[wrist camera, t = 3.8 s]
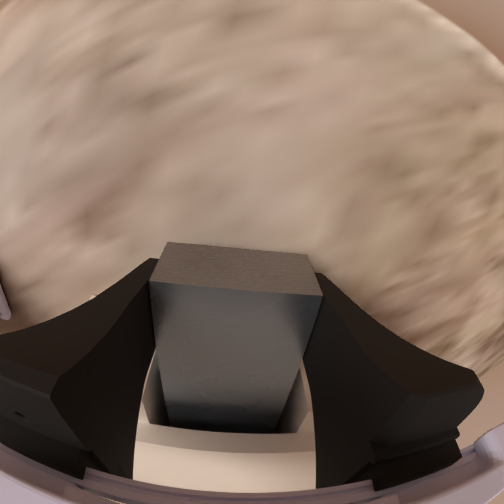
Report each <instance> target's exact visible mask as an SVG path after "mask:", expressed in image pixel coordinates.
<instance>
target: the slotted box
mask: <svg viewBox="0 0 504 504" xmlns="http://www.w3.org/2000/svg"><path fill="white" fill-rule="evenodd" d="M94 297H96V296H95V295H92V296H91V298H90V299H89V300H91V299H93V298H94ZM133 480H136V481H141V482H146V483H151V484H157V485H162V486H169V487H175V488H183V489H191V490H201V491H214V492H233V493H269V492H288V491H301V490H311V489H316V452H315V433H314V420H313V410H312V401H311V394H310V388H309V384H308V380H307V375H306V371H305V367H304V363H303V359H302V361H301V364H300V367H299V369H298V372H297V375H296V377H295V380H294V383H293V385H292V388H291V391H290V393H289V396H288V398H287V401H286V403H285V406H284V408H283V411H282V413H281V416H280V418H279V421H278V423H277V425H276V428H275V430H274V432H273V434H244V433H224V432H210V431H199V430H190V429H181V428H174V427H170V422H169V418H168V413H167V408H166V403H165V398H164V392H163V387H162V381H161V375H160V369H159V363H158V356H157V349H155V352H154V355H153V358H152V361H151V364H150V367H149V370H148V373H147V376H146V380H145V383H144V388H143V394H142V399H141V404H140V411H139V417H138V424H137V432H136V441H135V451H134V466H133Z"/></svg>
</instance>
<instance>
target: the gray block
mask: <svg viewBox="0 0 504 504" xmlns="http://www.w3.org/2000/svg"><path fill="white" fill-rule="evenodd" d="M149 287H150V298H151V308H152V318H153V326H154V334H155V342H156V349H157V356H158V363H159V369H160V375H161V381H162V387H163V392H164V398H165V403H166V408H167V413H168V418H169V422H170V427H174V428H181V429H190V430H199V431H210V432H224V433H244V434H273V432H274V430H275V428H276V425H277V423H278V421H279V418H280V416H281V413H282V411H283V408H284V406H285V403H286V401H287V398H288V396H289V393H290V391H291V388H292V385H293V383H294V380H295V377H296V375H297V372H298V369H299V367H300V364H301V361H302V358H303V355H304V353H305V350H306V347H307V344H308V341H309V338H310V335H311V332H312V329H313V326H314V323H315V320H316V317H317V314H318V311H319V307H320V304H321V301H322V298H323V294H322V291H321V289H320V286H319V284H318V281H317V279H316V276H315V273H314V271H313V268H312V266H311V263H310V261H309V259H308V256H307V255H304V254H293V253H282V252H272V251H261V250H250V249H239V248H228V247H217V246H207V245H196V244H185V243H174V242H167V244H166V246H165V248H164V250H163V252H162V254H161V257H160V259H159V261H158V263H157V265H156V267H155V269H154V271H153V273H152V275H151V278H150V280H149Z"/></svg>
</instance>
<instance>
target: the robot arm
mask: <svg viewBox="0 0 504 504" xmlns="http://www.w3.org/2000/svg"><path fill="white" fill-rule="evenodd" d="M158 261H159V259H155V258H149V259H148V260H146V261H145V262H143V263H142V264H141V265H139V266H138V267H137V268H135V269H134V270H133V271H132V272H130V273H129V274H127V275H126V276H125V277H123V278H122V279H121V280H119V281H118V282H117V283H115V284H114V285H112V286H111V287H109V288H108V289H106V290H105V291H103V292H102V293H100V294H99V295H97V296H96V297H94V298H93V299H91V300H89V301H87V302H86V303H84V304H82V305H80V306H78V307H76V308H75V309H73V310H71V311H68V312H66V313H64V314H62V315H59V316H57V317H55V318H53V319H51V320H48V321H46V322H43V323H40V324H37V325H35V326H32V327H28V328H25V329H22V330H19V331H15V332H11V333H6V334H2V335H0V504H119V503H116V502H113V501H110V500H108V499H111V500H114V501H118V502H122V503H126V504H486V503H488V502H489V501H490V500H492V499H493V498H494V497H496V496H497V495H498V494H499V493H501V492H502V491H503V490H504V422H503V423H502V424H500V425H498V426H496V427H494V428H492V429H490V430H489V431H487V432H486V433H484V434H483V435H482V436H481V437H479V438H478V439H477V440H476V441H475V442H474V444H472V445H470V446H468V447H466V448H463V449H461V450H459V447H458V445H457V442H456V440H455V439H456V438H458V437H459V435H460V433H459V431H458V429H457V426H458V425H459V424H460V423H461V422H462V421H463V420H464V419H465V418H466V417H467V416H468V415H469V414H470V413H471V412H472V411H473V410H474V409H475V408H476V406H477V405H478V404H479V402H480V401H481V399H482V397H483V394H484V388H483V386H482V384H481V383H480V381H479V379H478V377H477V376H476V374H475V373H474V371H473V370H471V369H468V368H465V367H462V366H459V365H456V364H454V363H451V362H448V361H445V360H443V359H441V358H439V357H436V356H434V355H432V354H430V353H428V352H426V351H424V350H422V349H420V348H418V347H416V346H414V345H412V344H411V343H409V342H407V341H405V340H404V339H402V338H400V337H399V336H397V335H396V334H394V333H393V332H391V331H390V330H388V329H387V328H385V327H384V326H383V325H381V324H380V323H378V322H377V321H376V320H375V319H373V318H372V317H371V316H370V315H368V314H367V313H366V312H365V311H363V310H362V309H361V308H360V307H359V306H358V305H356V304H355V303H354V302H353V301H352V300H351V299H350V298H349V297H348V296H346V295H345V294H344V293H343V292H342V291H341V290H340V289H339V288H338V287H337V286H336V285H335V284H333V283H332V282H331V281H330V280H329V279H328V278H327V277H326V276H324V275H323V274H322V273H315V276H316V279H317V281H318V284H319V286H320V289H321V291H322V294H323V298H322V301H321V304H320V307H319V311H318V314H317V317H316V320H315V323H314V326H313V329H312V332H311V335H310V338H309V341H308V344H307V347H306V350H305V353H304V355H303V358H302V359H303V363H304V367H305V371H306V375H307V380H308V384H309V388H310V394H311V401H312V410H313V420H314V433H315V452H316V489H311V490H301V491H288V492H269V493H233V492H214V491H201V490H191V489H183V488H175V487H169V486H162V485H157V484H151V483H146V482H141V481H136V480H133V466H134V451H135V441H136V432H137V424H138V417H139V411H140V404H141V399H142V394H143V388H144V383H145V380H146V376H147V373H148V370H149V367H150V364H151V361H152V358H153V355H154V352H155V349H156V342H155V334H154V326H153V318H152V308H151V298H150V287H149V280H150V278H151V275H152V273H153V271H154V269H155V267H156V265H157V263H158ZM0 318H1V319H4V320H9V319H10V318H11V311H10V309H9V306H8V304H7V301H6V298H5V296H4V293H3V290H2V287H1V284H0ZM100 496H101V497H100ZM102 497H104V498H102ZM105 498H108V499H105Z"/></svg>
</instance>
